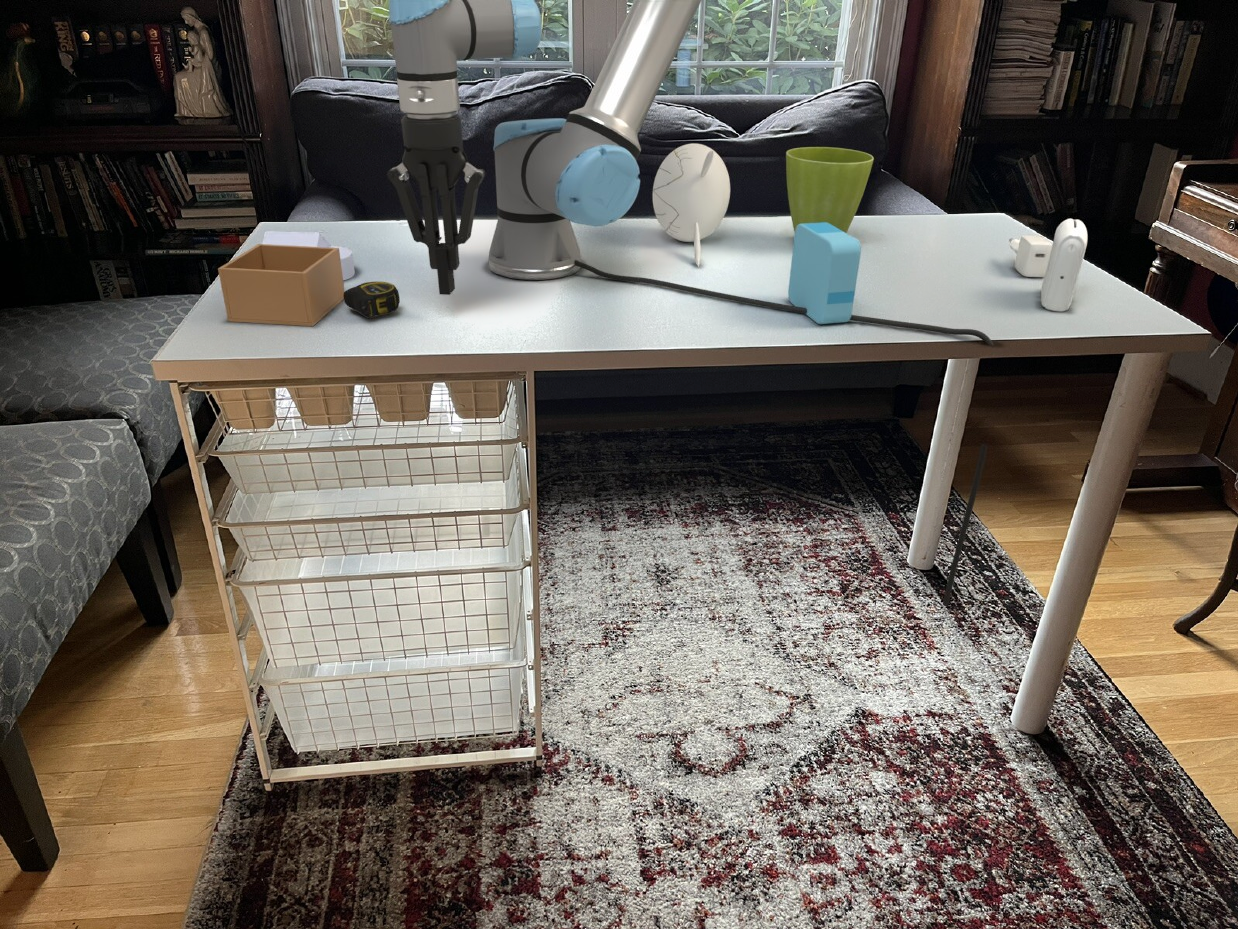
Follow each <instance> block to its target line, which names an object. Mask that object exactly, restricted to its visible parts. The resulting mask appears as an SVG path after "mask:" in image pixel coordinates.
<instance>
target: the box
mask: <svg viewBox="0 0 1238 929" xmlns="http://www.w3.org/2000/svg"><path fill="white" fill-rule="evenodd" d="M217 271H218V276H219V282H220V286H221V292H222V296H223V302H224V306H225V312H226V317H227V322H235V323H247V324H248V323H251V324H267V325H269V324H270V325H286V326H300V327H301V326H302V327H314V326H315V325H316V324H318V322H320V321H321V320H322V319H323V318H324V317H325V316H326V315H328V314H329V313H330V312H331V311H332V310H334V308H336V307H337V306H338V305H339V304H340V303H341V302H342V301H344V296H343V294H344V292H345V291H346V290H345V284H344V280H343V275H342V268H341V260H340V252H339V248H327V247H308V246H288V245H268V244H262V243H258V244H256V245H254V246H253V247H251V248H249V249H247V250H246V251H244V252H243V253H241V254H240V255H237V256H235V258H233V259H231V260H230V261H228V262H227V263H225V264H223V265H221V266H220V267H218V268H217Z"/></svg>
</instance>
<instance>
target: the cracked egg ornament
mask: <svg viewBox="0 0 1238 929" xmlns="http://www.w3.org/2000/svg"><path fill="white" fill-rule="evenodd" d="M730 181H731V180H730V176H729V172H728V169H727V167H726V164H725V162H724V161H723V159H722V157H721V156H720V155H719V154H718V153H717V152H716V151H715V150H714V149H712V148H711V147H709V146H707V145H705V144H702V143H686V144H683V145H681V146H678V147H677V148H675V149H674V150H672V151H671V152H669V154H668V155H666V157H665V158H664V160H663V161H662V162H661V164H660V166H659V168H658V169H657V172H656V175H655V177H654V181H653V186H652V204H653V205H652V207H653V212H654V215H655V217H656V219H657V223H658V224H659V226H660V227H661V228H662V230H663V231H664V232H665V233H666V234H667V235H668V236H670V237H672V238H673V239H675V240H677V241H680V242H684V243H693V244H694V245H693V254H694V260H695V264H696V266H697V267H698V268H699V266H700V264H701V256H702V255H701V254H702V252H701V250H702V249H701V240H704V239H705V238H707V237H709V236H710V235H711V234H712V233H714V232H715V230H716V229H717V228H718V227H719V226H720V224H721V223H722V221H723V219H724V217H725V215H726V214H727V211H728V207H729V204H730V197H731V182H730Z"/></svg>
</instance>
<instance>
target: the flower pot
mask: <svg viewBox="0 0 1238 929" xmlns="http://www.w3.org/2000/svg"><path fill="white" fill-rule="evenodd" d="M874 158H875V157H874V156H873V155H872V154H869V153H867V152H864V151H860V150H854V149H849V148H843V147H842V148H841V147H829V146H805V147H796V148H795V147H794V148H791V149H788V150H787V151H785V165H786V166H785V168H786V170H785V171H786V173H785V174H786V188H787V198H788V206H789V211H790V217H791V222H792V227H793V228H792V229H793V231H794V234H795V229H796V227H797V226H798V225H799V224H805V223H823V222H827V223H829V224H831V225H833V226H834V227H836V228H838V229H840V230H841V231H843V232H845V233H847V234H848V231H849V228H850V227H851V224H852V223H853V221H854V218H855V216H856V213H857V211H858V209H859V206H860V203H861V201H862V199H863V196H864V193H865V191H866V190H865V189H866V186H867V183H868V180H869V178H870V174H871V172H872V171H871V170H872V167H873V164H874V160H875V159H874Z"/></svg>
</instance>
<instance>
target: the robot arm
mask: <svg viewBox="0 0 1238 929" xmlns="http://www.w3.org/2000/svg"><path fill="white" fill-rule="evenodd" d="M387 1H388V16H389V17H388V22H389V24H390V29H391V30H390V31H391V39H392V46H393V55H394V62H395V69H396V71H395V72H396V83H397V92H398V100H399V102H398V103H399V110H400V111H401V112H402V113H403V114H405V115H403V116H402V118H401V119H400V121H401V131H402V140H403V148H404V152H403V155H402V158H401V163H400V164H398V165H397V166H393V167H392V168H391V169H390V170H388V171H387V172H386V176H387V178H388V180H389V181H390V182H391V184H392V185H393V186H394V188H395V189H396V193H397V196H398V199H399V202H400V204H401V207H402V210H403V213H404V216H405V219H406V221H407V224H408V228H409V230H410V233H411V236H412V239H413V241H414V242H415V243H422V244H424V245H425V246H426V247H427V250H428V260H429V266H430V269H431V270H436V272H437V273H436V274H437V282H438V283H437V284H438V293H439V295H442V296H443V295H444V296H451V294H453V292H454V291H455V289H456V284H455V283H456V282H455V271H457V270H458V268H459V266H460V251H459V245H464V244H466V243H467V242H468V241H469V239H471V236H472V232H473V225H474V218H475V212H476V206H477V200H478V195H479V194H478V193H479V187H480V186H481V184H482V182H483V180H484V179H485V176H486V171H485V170H484V169H483V168H476V167H475V166H473V165H472V164H471V163H470V162H469V158H468V156H467V155H466V153H465V150H464V140H463V128H462V117H461V116H460V115H459V114H458V113H457V112H458V111H459V110H460V109H461V102H460V91H459V81H458V61H459V62H462V61H464V62H466V61H468V60H484V59H485V60H486V59H487V60H488V59H505V58H506V59H507V58H511V59H512V60H513V59H515V58H516V57H517V58H518V57H523V56H525V57H526V56H530V55H532V54H533V53H535V51H537V49H538V47H539V46H540V43H541V40H542V33H543V30H542V16H541V12H540V8H539V7H538V5H537V4H538V3H540V2H542V1H543V0H387ZM701 2H702V0H633V2H632V4H631V7H630V8H629V10H628V13H627V15H626V18H625V19H624V21H623V23H622V25H621V28H620V30H619V32H618V33H617V34H618V35H617V36H616V38H615V41H614V43H613V45H612V47H611V49H610V51H609V53H608V55H607V57H606V60H605V62H604V63H603V66H602V68H601V70H600V72H599V75H598V76H597V79H596V81H595V83H594V85H593V87H592V90H591V91H590V94H589V96H588V97H587V100H586V102H585V104H584V106H583V107H580V108H577V109H574V110H572V111H570V112H568V115H567V118H560V117H559V118H555V117H554V118H537V119H522V120H511V121H505V122H501V123H499V124H497V126H496V127H495V130H494V137H493V141H494V142H493V152H494V167H495V168H494V169H495V170H494V171H495V187H496V188H495V189H496V191H495V192H496V207H497V208H496V209H497V221H496V226H495V229H494V232H493V237H492V240H491V244H490V248H489V251H488V256H487V257H488V258H487V259H488V269H489V270H490V271H491V272H493V273H494V274H496V275H497V276H498V275H499V276H501V277H505V278H509V279H516V280H526V281H541V280H553V279H560V278H564V277H567V276H571V275H574V274H575V273H577V272H578V271H580V270H581V268H582V269H583V270H586V271H588V272H591V273H592V274H594V275H597V276H599V277H602V278H606V279H609V280H614V281H620V282H630V283H641V284H648V285H654V286H659V287H663V288H668V289H674V290H676V291H677V290H678V291H683V292H687V293H692V294H696V295H701V296H708V297H711V298H717V299H722V300H726V301H730V302H731V301H732V302H737V303H744V304H747V305H752V306H759V307H763V308H764V307H765V308H771V309H776V310H781V311H788V312H794V313H800V314H804V315H806V313H807V309H806V308H803V307H797V306H795V305H791V304H790V305H789V304H784V303H778V302H773V301H772V302H771V301H766V300H762V299H755V298H750V297H745V296H739V295H734V294H728V293H723V292H718V291H712V290H708V289H704V288H699V287H693V286H688V285H684V284H678V283H674V282H670V281H664V280H659V279H654V278H648V277H641V276H631V275H630V276H629V275H622V274H621V275H620V274H614V273H610V272H606V271H602V270H601V269H598V268H596V267H595V266H592V265H589V264H587V263H584V262H582V254H581V250H580V246H579V244H578V241H577V237H576V235H575V231H574V228H573V225H572V223H574V224H577V225H584V226H587V227H588V226H589V227H594V228H595V227H598V228H599V227H604V226H607V225H610V224H613V223H615V222H617V221H619V220H620V219H621V218H622V217H624V215H626V214H627V213H628V212H629V210H630V209H631V207H632V206H633V204H634V203H635V201H636V199H637V197H638V194H639V190H640V186H641V179H640V178H639V175H640V174H641V173H640V167H639V164H638V162H637V160H638V159H639V156H640V154H641V151H642V147H641V145H640V142H639V138H638V134H639V132H640V130H641V128H642V126H643V124H644V121H645V119H646V117H647V115H648V113H649V111H650V110H651V107H652V105H653V102H654V100H655V99H656V97H657V94H658V92H659V90H660V88H661V86H662V84H663V82H664V80H665V78H666V76H667V74H668V71H669V69H670V67H671V66H672V63H673V61H674V59H675V57H676V55H677V52H678V51H679V48H680V47H681V44H682V43H683V40H684V38H685V36H686V34H687V32H688V30H689V28H690V25H691V23H692V22H693V19H694V17H695V16H696V13H697V11H698V9H699V7H700V4H701ZM463 173H464V181H465V183H467V184H466V187H465V190H464V194H463V202H462V209H461V213H460V214H461V215H460V221H459V227H458V219H457V218H458V217H457V206H456V195H455V194H456V184H457V183H458V181H459V179H460V178H461V176H462V174H463ZM410 175H411V177H412V178H413V179H414V180H415V183H417V185H419V194H420V197H421V201H422V203H421V204H422V211H423V212H422V214H423V217H422V214H421V211H420V208H419V205H418V202H417V199H416V196H415V192H414V190H413V188H412V184H411V182H410V180H409V178H410ZM437 190H438V196H439V198H440V204H441V213H442V214H441V215H442V224H443V236H444V242H440V241H441V240H442V236H441V234H440V223H439V213H438V212H439V211H438V201H437V200H438V199H437ZM849 321H852V322H859V323H866V324H867V323H868V324H875V325H880V326H881V325H882V326H889V327H896V328H903V329H911V330H918V331H919V330H920V331H926V332H935V333H940V334H946V335H953V336H954V335H955V336H956V335H957V336H973V337H976V338H979V339H980V340H982V341H983V342H984V344H985V345H987V346H994V342H993V341H992V339H991V338H990V337H989V336H988V335H987V334H986V333H984V332H983V331H980V330H977V329H974V328H973V329H972V328H952V327H945V326H940V325H939V326H937V325H931V324H924V323H917V322H916V323H915V322H907V321H900V320H892V319H885V318H879V317H878V318H877V317H870V316H863V315H855V314H852V315H851V318H850V320H849ZM980 445H981V446H980V451H979V456H978V460H977V465H976V469H975V474H974V477H973V481H972V486H971V491H970V493H969V498H968V501H967V506H966V509H965V513H964V516H963V520H962V523H961V528H960V531H959V535H958V540H957V544H956V547H955V551H954V554H953V559H952V562H951V567H950V571H949V574H948V580H947V584H946V589H945V592H944V597H943V601H942V605H943V606H944V607H948V606H949V604H950V600H951V596H952V591H953V586H954V582H955V578H956V574H957V568H958V566H959V561H960V557H961V553H962V550H963V547H964V542H965V538H966V534H967V531H968V528H969V523H970V520H971V516H972V512H973V508H974V504H975V501H976V498H977V493H978V489H979V486H980V482H981V477H982V473H983V470H984V465H985V460H986V455H987V451H988V446H989V445H988V444H985V443H981V444H980Z"/></svg>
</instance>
